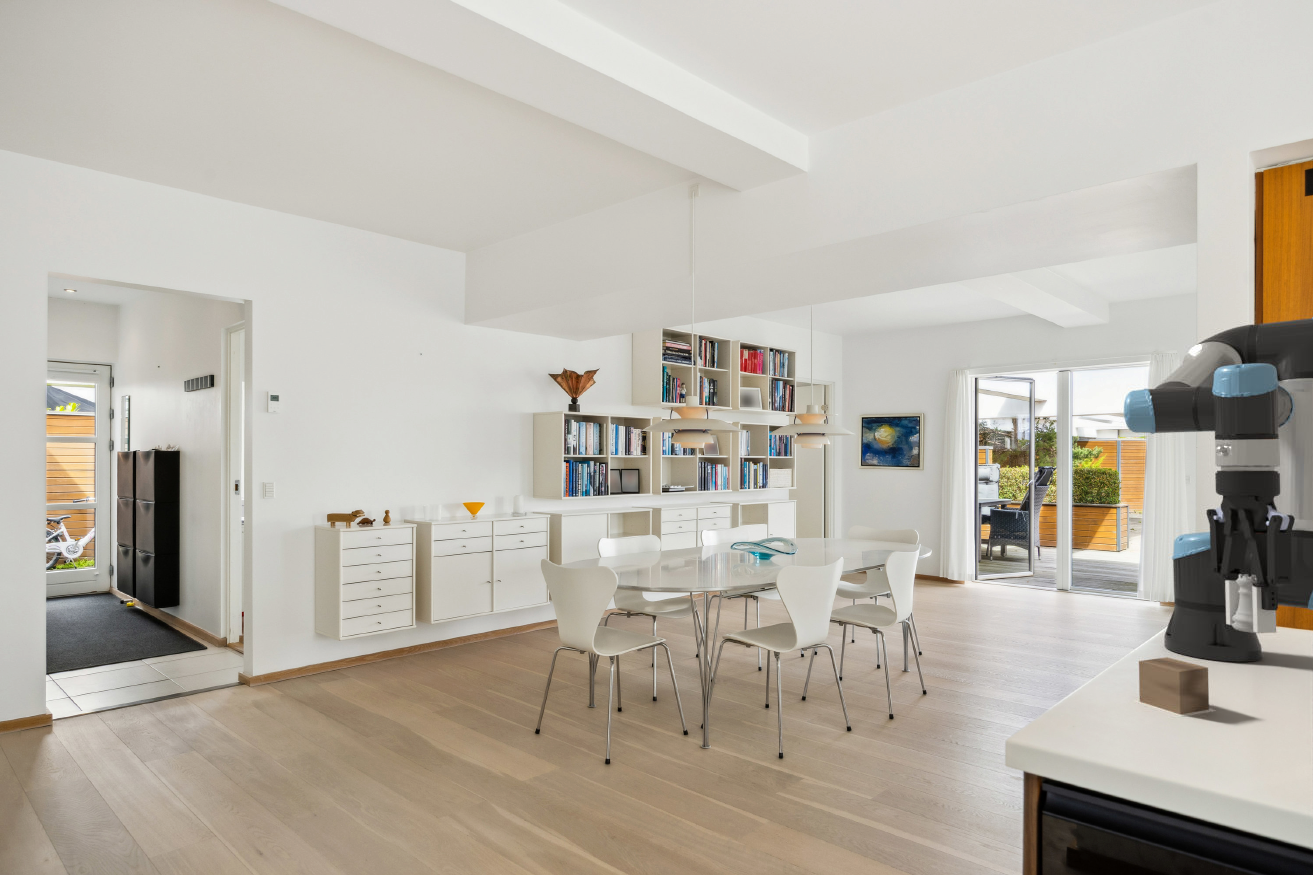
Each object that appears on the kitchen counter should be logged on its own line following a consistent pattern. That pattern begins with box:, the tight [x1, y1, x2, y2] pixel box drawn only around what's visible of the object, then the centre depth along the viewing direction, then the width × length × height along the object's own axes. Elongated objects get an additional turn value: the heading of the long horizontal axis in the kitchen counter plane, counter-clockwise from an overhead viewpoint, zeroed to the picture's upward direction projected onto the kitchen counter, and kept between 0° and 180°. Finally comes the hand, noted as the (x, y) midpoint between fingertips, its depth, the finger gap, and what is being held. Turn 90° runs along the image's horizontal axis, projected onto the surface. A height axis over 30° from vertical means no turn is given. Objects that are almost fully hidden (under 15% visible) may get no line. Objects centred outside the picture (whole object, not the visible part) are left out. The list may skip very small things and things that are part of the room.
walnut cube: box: [1138, 657, 1210, 715], centre depth 110 cm, size 6×6×6 cm
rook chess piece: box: [1232, 574, 1258, 634], centre depth 110 cm, size 4×4×8 cm
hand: (1250, 627), depth 110 cm, fingers closed on rook chess piece, 4 cm apart
